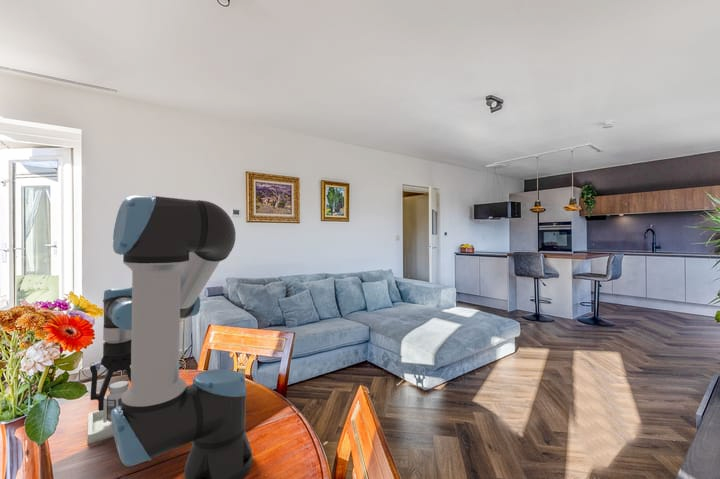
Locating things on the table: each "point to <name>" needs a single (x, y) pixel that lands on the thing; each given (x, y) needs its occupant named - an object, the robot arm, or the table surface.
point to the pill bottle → (115, 396)
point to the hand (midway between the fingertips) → (118, 416)
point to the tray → (98, 427)
